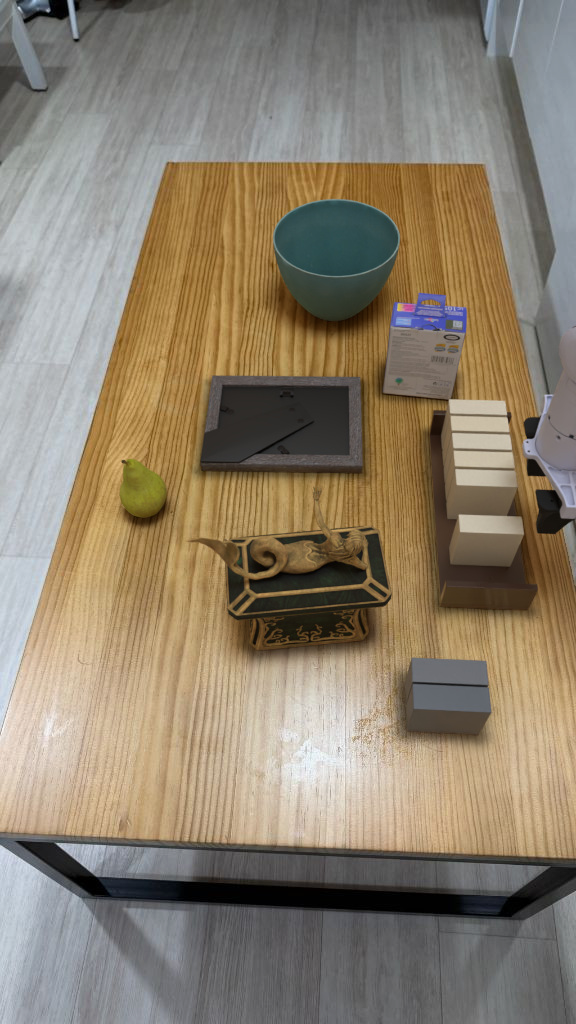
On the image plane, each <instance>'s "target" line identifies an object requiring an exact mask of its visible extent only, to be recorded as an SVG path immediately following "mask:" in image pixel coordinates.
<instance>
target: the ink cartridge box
mask: <svg viewBox="0 0 576 1024" xmlns="http://www.w3.org/2000/svg"><path fill="white" fill-rule="evenodd" d="M446 299H447V295H445V294H436V293H425V292H418V294H417V300H416V303H408V302H398V301H395V302H393V305H392V312H391V317H390V318H391V319H390V323H389V324H390V325H389V331H388V339H387V340H388V341H387V348H386V349H387V351H386V357H385V358H386V360H385V368H384V369H385V370H384V377H383V378H384V380H383V384H382V393H383V394H387V395H398V396H407V397H408V396H409V397H417V398H428V399H439V400H448V401H449V399H452V396H453V393H454V387H455V383H456V380H457V379H456V378H457V374H458V370H459V365H460V361H461V357H462V351H463V346H464V343H465V338H466V334H467V324H468V322H467V321H468V309H467V307H466V306H452V305H446ZM431 300H432V301H435V302H437V303H439V305H437V304H424V303H422V302H425V301H431Z"/></svg>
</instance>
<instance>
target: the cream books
mask: <svg viewBox="0 0 576 1024" xmlns="http://www.w3.org/2000/svg"><path fill="white" fill-rule="evenodd" d="M446 410H447V411H446V415H445V420H444V424H443V429H442V433H441V442H442V449H443V451H442V455H443V466H444V480H445V483H446V484H445V493H446V501H447V503H446V506H447V519H458V515H487V516H507V514H508V511H509V509H510V506H511V503H512V501H513V498H514V499H515V497H516V493H517V490H518V488H519V486H518V479H517V472H516V466H515V458H514V453H513V446H512V438H511V434H510V423H509V424H508V418H507V412H508V411H507V405H506V400H495V399H494V400H493V399H491V400H489V399H488V400H487V399H457V398H456V399H454V398H453V399H452V398H451V399H449V400H448V402H447V406H446Z"/></svg>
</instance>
